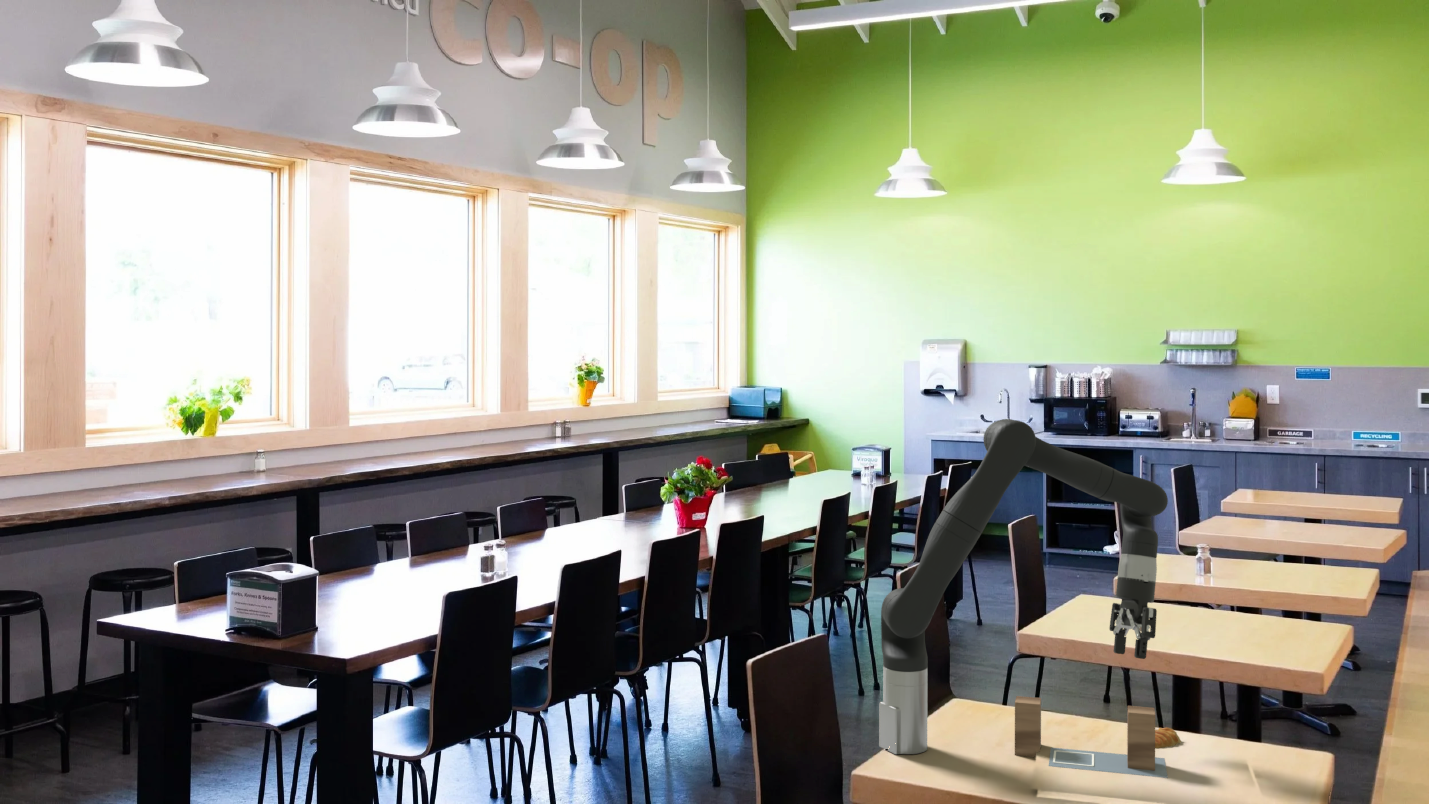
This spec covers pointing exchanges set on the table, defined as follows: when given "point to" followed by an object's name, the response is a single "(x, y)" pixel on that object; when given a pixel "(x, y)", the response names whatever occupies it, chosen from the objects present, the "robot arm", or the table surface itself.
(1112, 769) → the board
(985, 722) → the table surface
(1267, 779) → the table surface
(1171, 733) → the pastry
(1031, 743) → the pillar
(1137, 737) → the built pillar
